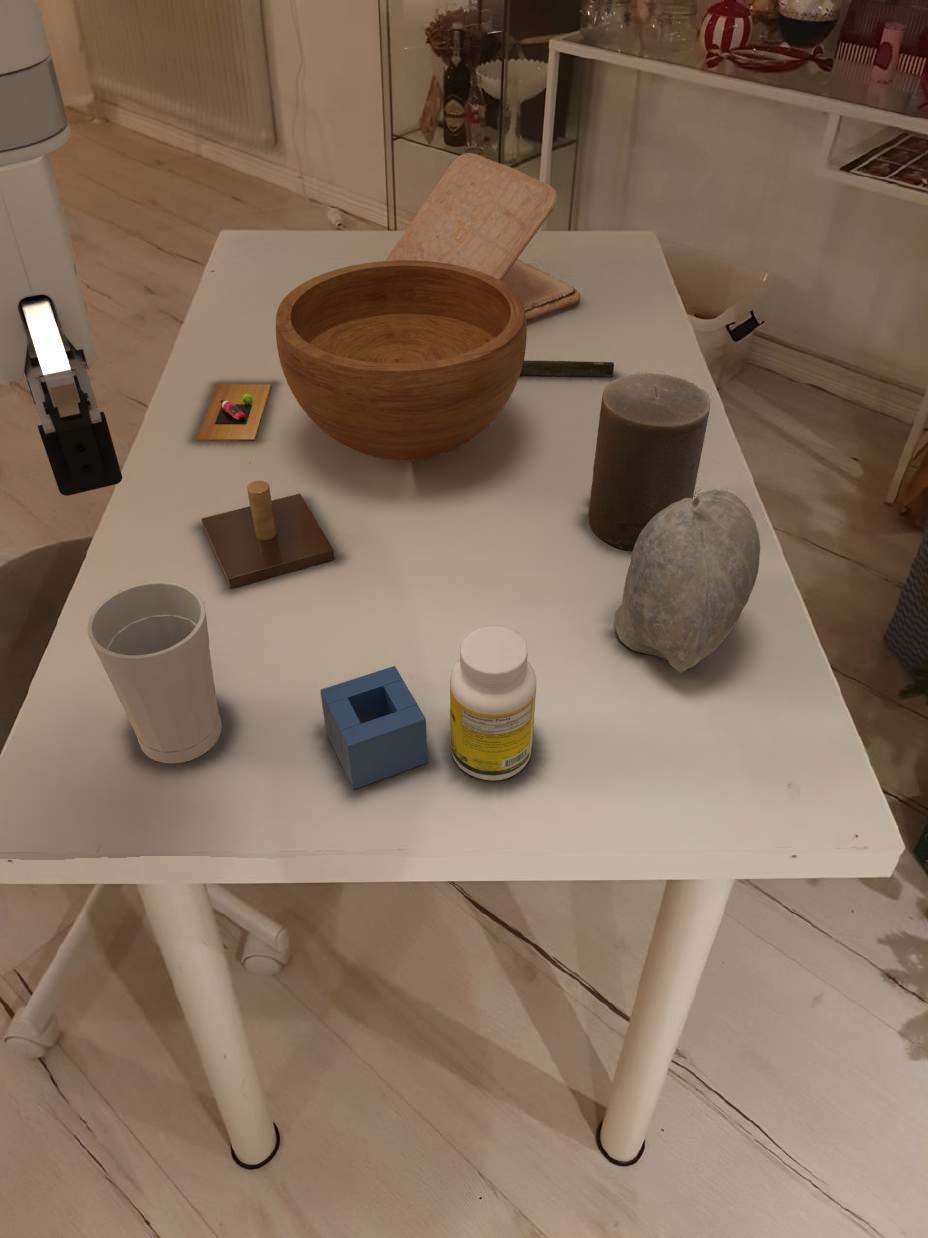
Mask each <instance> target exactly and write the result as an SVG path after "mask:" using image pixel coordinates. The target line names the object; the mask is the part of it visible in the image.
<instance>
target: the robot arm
mask: <svg viewBox="0 0 928 1238" xmlns="http://www.w3.org/2000/svg"><path fill="white" fill-rule="evenodd" d="M51 53H52V52H51V47H50V44H49V39H48V35H47V31H46V28H45V24H44V20H43V16H42V12H41V8H40V5H39V0H0V384H1V385H3V386H5V387H9V386H10V387H11V386H12V383H14V382H20V381H23V380H24V376H25V379H26V383H27V386H28V388H29V392H30V394H31V397H32V400H33V403H34V405H35V407H36V410H37V413H38V417H39V420H40V423H41V424H39V425H37V430H38V433H39V435H40V438H41V441H42V444H43V446H44V450H45V453H46V456H47V459H48V462H49V466H50V468H51V471H52V474H53V477H54V480H55V483H56V485H57V489H58V491H59V493H60V495H63V496H72V495H73V496H74V495H77V494H81V493H86V492H91V491H94V490H98V489H102V488H107V487H111V486H116V485H118V484H120V483H121V482H122V480H123V473H122V471H121V467H120V464H119V460H118V456H117V452H116V449H115V446H114V442H113V438H112V436H111V435H112V434H111V431H110V427H109V424H108V422H107V418H106V415H105V412H104V410H103V411H100V409H99V405H98V403H97V400H96V396H95V393H94V390H93V387H92V383H91V380H90V376H89V374H88V370H90V369H91V368H92V367H93V366H94V365H95V364H96V362H97V359H98V358H97V352H96V351H97V350H96V347H95V341H94V336H93V330H92V326H91V322H90V316H89V315H90V314H89V309H88V305H87V302H86V297H85V292H84V287H83V283H82V278H81V273H80V270H79V264H78V261H77V256H76V252H75V249H74V244H73V241H72V237H71V232H70V228H69V225H68V221H67V217H66V213H65V209H64V205H63V201H62V198H61V193H60V190H59V187H58V182H57V178H56V175H55V171H54V167H53V164H52V160H51V156H50V154H51V153H53V152H55V151H57V150H59V149H61V148H63V147H64V146H65V145H66V144H67V143H68V141H69V140H70V139H71V137H72V131H71V127H70V123H69V119H68V114H67V111H66V107H65V103H64V100H63V96H62V92H61V87H60V83H59V79H58V75H57V71H56V67H55V63H54V59H53V56H52V54H51Z"/></svg>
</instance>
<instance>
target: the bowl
mask: <svg viewBox="0 0 928 1238" xmlns="http://www.w3.org/2000/svg"><path fill="white" fill-rule="evenodd" d="M527 327H528V326H527V320H526V314H525V308H524V305H523V302H522V300H521V299H520V297H519V296H518V294H517V293H516V292H515V291H514V290H513V289H512V288H510V287H509V286H508V285H506V284H505V283H503V282H502V281H500V280H498V279H496V278H494V277H492V276H490V275H488V274H485V273H483V272H480V271H477V270H474V269H470V268H467V267H463V266H458V265H453V264H447V263H440V262H431V261H415V260H397V261H385V260H383V261H372V262H371V261H370V262H364V263H358V264H354V265H349V266H344V267H340V268H337V269H334V270H331V271H327V272H323V273H322V274H319V275H317V276H314V277H312V278H310V279H308V280H306V281H305V282H303V283H301V284H299V285H297V286H296V287H295V288H293V289H292V290H291V291H290V292H289V293H287V294H286V296H285V297H283V299H282V300H281V302H280V303H279V305H278V308H277V310H276V316H275V340H276V341H275V342H276V349H277V354H278V359H279V363H280V367H281V370H282V373H283V376H284V378H285V380H286V383H287V385H288V387H289V389H290V391H291V393H292V395H293V396H294V398H295V400H296V402H297V404H298V405H299V406H300V408H301V410H303V412H305V414H306V415H307V416H308V418H309V419H310V420H311V421H312V422H313V423H314V424H315V425H316V426H317V427H318V428H319V429H321V430H322V431H323V432H324V433H325V434H327V435H328V436H329V437H330V438H332V439H333V440H335V441H336V442H338V443H340V444H342V446H345V447H347V448H348V449H350V450H353V451H355V452H358V453H360V454H362V455H366V456H369V457H373V458H377V459H382V460H389V461H418V460H419V461H420V460H424V459H431V458H434V457H438V456H440V455H444V454H446V453H449V452H451V451H453V450H456V449H458V448H460V447H462V446H463V445H465V444H466V443H469V442H470V441H472V440H473V439H474V438H476V437H477V436H479V434H481V433H482V432H483V431H484V430H485V429H487V427H488V426H489V425H490V424H491V423H492V422H494V420H495V419H496V418H497V417H498V415H500V413H501V412H502V410H503V409H504V407H505V406H506V405H507V403H508V401H509V400H510V398H511V396H512V394H513V392H514V390H515V388H516V386H517V384H518V381H519V378H520V376H521V375H520V373H521V369H522V366H523V361H524V360H525V355H526V350H527V337H528V335H527V334H528V333H527V332H528V330H527V329H528V328H527Z"/></svg>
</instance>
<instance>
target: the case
mask: <svg viewBox="0 0 928 1238" xmlns="http://www.w3.org/2000/svg"><path fill="white" fill-rule="evenodd" d="M452 161H453V162H451V164H450V165H449V166H448V168H447V170H446V171H445V172H444V174H443V175H442V177H441V179H440V180H439V181H438V183H437V184H436V186H435V187H434V188H433V190H432V192H431V193H430V194H429V195H428V197H427V199H426V200H425V202H423V204H422V206H421V208H419V211H418V212H417V213H416V215H415V216H414V218H413V219H412V220H411V222H410V223H409V225H408V227H406V229H405V231H404V232H403V234H402V235H401V236H400V238H399V240H398V241H397V242H396V244H395V245H394V247H393V248H392V249H391V251H390V253H389V254H388V256H386V258H385V260H384V261H397V260H415V261H431V262H440V263H447V264H453V265H458V266H463V267H467V268H470V269H474V270H477V271H480V272H483V273H485V274H488V275H490V276H492V277H494V278H496V279H498V280H500V281H502V282H503V283H505V284H506V285H508V286H509V287H510V288H512V289H513V290H514V291H515V292H516V293H517V294H518V296H519V297H520V299H521V300H522V302H523V305H524V308H525V314H526V321H528V320H531V319H535V318H538V317H540V316H543V315H546V314H550V313H551V312H555V311H558V310H561V309H563V308H566V307H570V306H572V305H574V304H576V303H578V302H579V301H580V299H581V293H580V292H579V290H578V289H576V288H575V287H574V286H573V285H571V284H570V283H567V282H565V281H563V280H561V279H558V278H556V277H554V276H552V275H550V274H549V273H547V272H546V271H543V270H542V269H540V268H538V267H535V266H533V265H531V264H529V263H527V262H524V261H522V260H520V259H519V258H520V256H521V254H522V253H523V252H524V250H525V249H526V247H527V246H528V245H529V244H530V242H531V241H532V239H533V238H534V237H535V236H536V234H537V233H538V232H539V230H540V229H541V227H542V226H543V225H544V224H545V222H546V221H547V219H548V218H549V216H551V214H552V213H553V211H554V210H555V207H556V205H557V203H558V192H557V191H556V189H555V188H554V187H553V186H552V185H550V184H548V183H546V182H544V181H541V180H540V179H539V180H538V179H536V178H535V177H532V176H529V175H528V174H526V173H524V172H523V171H520V170H518V169H516V168H513V167H511V166H509V165H506V164H503V163H500V162H498V161H494V160H491V159H489V158H486V157H485V156H482V155H480V154H478V153H473V152H465V153H462V154H460V155H459V156H458V157H456V158H455V159H454V160H452Z"/></svg>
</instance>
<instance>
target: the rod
mask: <svg viewBox="0 0 928 1238" xmlns="http://www.w3.org/2000/svg"><path fill="white" fill-rule="evenodd" d="M614 369H615V363H614V362H613V361H581V360H580V361H578V360H577V361H575V360H574V361H572V360H571V361H570V360H527V359H526V360H525V359H524V361H523V366H522V369H521V373H520V376H534V375H537V376H550V377H551V376H554V377H556V376H559V377H605V378H606V377H608V378H609V377H610V378H611V377H613V376H614Z"/></svg>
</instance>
